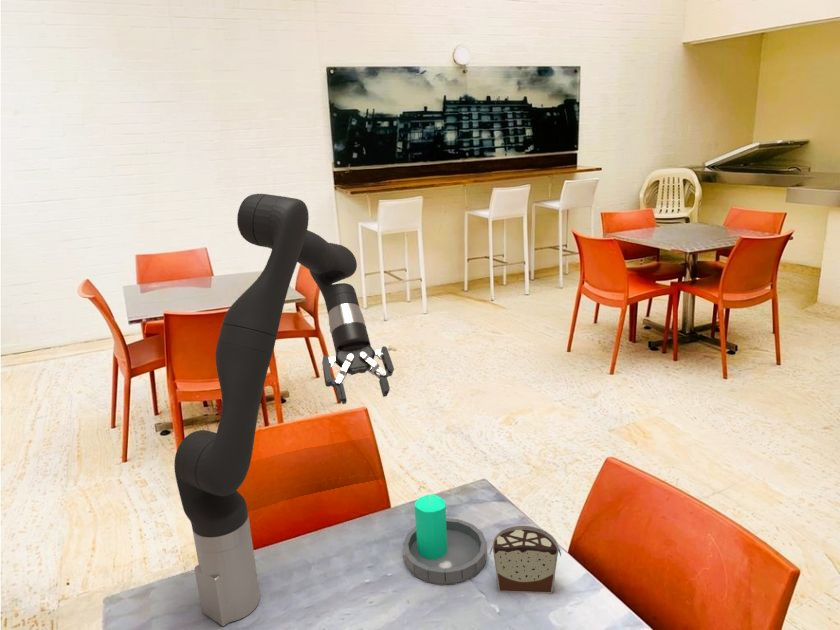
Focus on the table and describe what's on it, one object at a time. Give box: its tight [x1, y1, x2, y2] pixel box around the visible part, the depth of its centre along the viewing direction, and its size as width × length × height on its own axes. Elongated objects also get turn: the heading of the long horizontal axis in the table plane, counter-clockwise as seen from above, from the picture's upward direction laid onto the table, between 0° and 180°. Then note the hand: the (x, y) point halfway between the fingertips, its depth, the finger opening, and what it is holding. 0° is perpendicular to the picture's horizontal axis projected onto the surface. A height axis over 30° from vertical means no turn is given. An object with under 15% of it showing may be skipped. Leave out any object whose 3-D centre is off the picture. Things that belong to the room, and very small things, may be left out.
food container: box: [489, 525, 562, 595], centre depth 108 cm, size 12×6×10 cm, turn 84°
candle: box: [414, 494, 447, 559], centre depth 116 cm, size 6×6×12 cm
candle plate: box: [402, 517, 488, 586], centre depth 116 cm, size 16×16×3 cm
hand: (365, 398), depth 120 cm, fingers open, 8 cm apart
